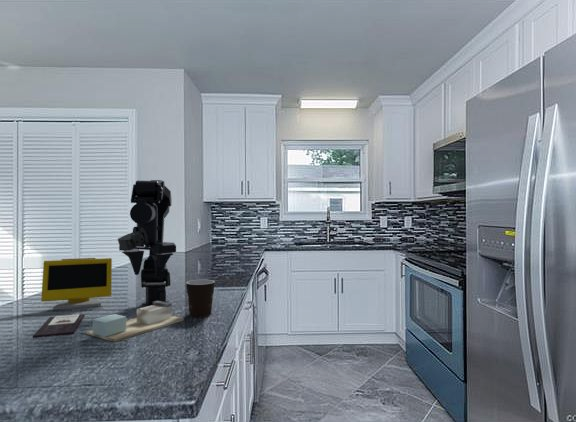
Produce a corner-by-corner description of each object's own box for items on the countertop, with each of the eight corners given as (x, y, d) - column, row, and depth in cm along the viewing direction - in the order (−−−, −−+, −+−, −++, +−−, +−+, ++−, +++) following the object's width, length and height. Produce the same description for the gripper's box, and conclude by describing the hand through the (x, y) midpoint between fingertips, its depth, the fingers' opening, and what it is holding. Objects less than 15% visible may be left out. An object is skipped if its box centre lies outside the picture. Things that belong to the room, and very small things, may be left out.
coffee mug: (207, 319, 111) (208, 285, 111) (180, 317, 113) (180, 283, 113) (222, 309, 123) (222, 278, 123) (197, 308, 124) (197, 277, 124)
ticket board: (85, 333, 98) (86, 314, 98) (155, 314, 116) (155, 298, 116) (114, 342, 91) (114, 321, 91) (183, 320, 110) (183, 303, 110)
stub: (92, 333, 95) (92, 319, 95) (114, 327, 101) (114, 313, 101) (104, 336, 93) (104, 322, 93) (126, 330, 98) (126, 316, 98)
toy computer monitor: (41, 311, 119) (41, 261, 119) (45, 306, 126) (45, 258, 126) (111, 305, 127) (111, 258, 127) (111, 300, 134) (111, 256, 134)
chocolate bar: (32, 335, 94) (50, 317, 111) (32, 339, 94) (50, 320, 111) (73, 331, 97) (84, 314, 114) (73, 335, 97) (84, 317, 114)
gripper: (102, 223, 110) (102, 277, 110) (145, 224, 100) (144, 283, 100) (135, 222, 119) (135, 272, 119) (177, 223, 110) (177, 277, 110)
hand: (147, 276), depth 112 cm, fingers open, 9 cm apart
